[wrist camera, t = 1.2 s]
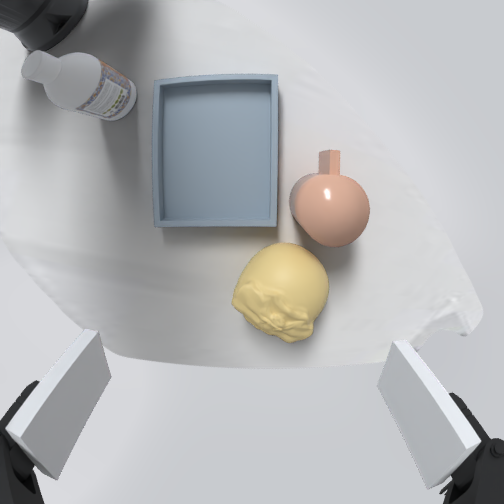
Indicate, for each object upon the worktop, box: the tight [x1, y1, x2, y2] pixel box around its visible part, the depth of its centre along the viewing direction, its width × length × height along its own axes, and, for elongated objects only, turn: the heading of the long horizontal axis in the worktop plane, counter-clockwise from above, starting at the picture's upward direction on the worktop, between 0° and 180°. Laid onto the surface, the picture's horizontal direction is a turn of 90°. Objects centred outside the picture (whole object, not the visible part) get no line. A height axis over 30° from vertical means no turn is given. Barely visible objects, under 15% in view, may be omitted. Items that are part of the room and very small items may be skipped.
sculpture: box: [232, 243, 329, 343], centre depth 36 cm, size 12×12×11 cm
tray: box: [152, 74, 278, 227], centre depth 34 cm, size 20×16×3 cm
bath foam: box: [21, 50, 137, 121], centre depth 23 cm, size 7×7×20 cm
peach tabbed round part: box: [289, 150, 370, 247], centre depth 33 cm, size 8×11×9 cm
